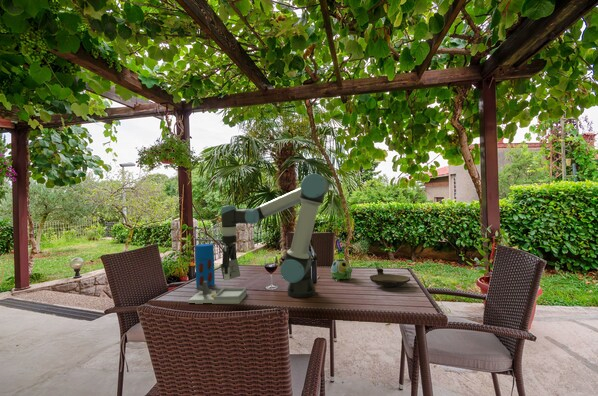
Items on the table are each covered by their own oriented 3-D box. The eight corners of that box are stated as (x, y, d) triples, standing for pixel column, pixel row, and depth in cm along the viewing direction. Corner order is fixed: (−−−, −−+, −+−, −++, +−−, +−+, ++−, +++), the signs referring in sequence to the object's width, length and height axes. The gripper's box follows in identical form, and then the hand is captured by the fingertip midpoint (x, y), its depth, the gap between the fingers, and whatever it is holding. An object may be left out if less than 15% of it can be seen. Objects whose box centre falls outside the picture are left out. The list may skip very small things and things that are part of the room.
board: (246, 294, 163) (246, 287, 163) (239, 303, 148) (239, 296, 148) (200, 294, 165) (200, 288, 165) (188, 303, 150) (188, 296, 150)
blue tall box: (218, 285, 182) (216, 244, 182) (202, 289, 174) (200, 246, 174) (208, 282, 189) (207, 243, 190) (192, 286, 182) (191, 245, 182)
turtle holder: (341, 284, 175) (341, 264, 176) (327, 277, 192) (327, 259, 192) (359, 281, 180) (358, 262, 180) (344, 275, 197) (343, 257, 197)
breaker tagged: (207, 295, 155) (207, 280, 155) (205, 297, 152) (205, 282, 152) (205, 295, 155) (204, 280, 155) (202, 297, 152) (202, 282, 152)
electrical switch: (226, 280, 151) (225, 262, 151) (220, 280, 154) (218, 262, 155) (240, 276, 158) (239, 259, 159) (234, 276, 161) (233, 259, 162)
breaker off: (212, 289, 162) (199, 285, 162) (210, 291, 159) (197, 286, 159) (211, 292, 162) (198, 287, 162) (209, 293, 159) (196, 289, 159)
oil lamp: (369, 291, 161) (369, 277, 161) (369, 277, 190) (369, 265, 190) (413, 293, 156) (412, 278, 156) (406, 278, 185) (406, 266, 185)
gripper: (229, 232, 168) (229, 272, 168) (214, 237, 145) (215, 283, 145) (242, 232, 167) (243, 272, 167) (229, 237, 145) (230, 283, 144)
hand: (230, 277), depth 156 cm, fingers closed on electrical switch, 10 cm apart
